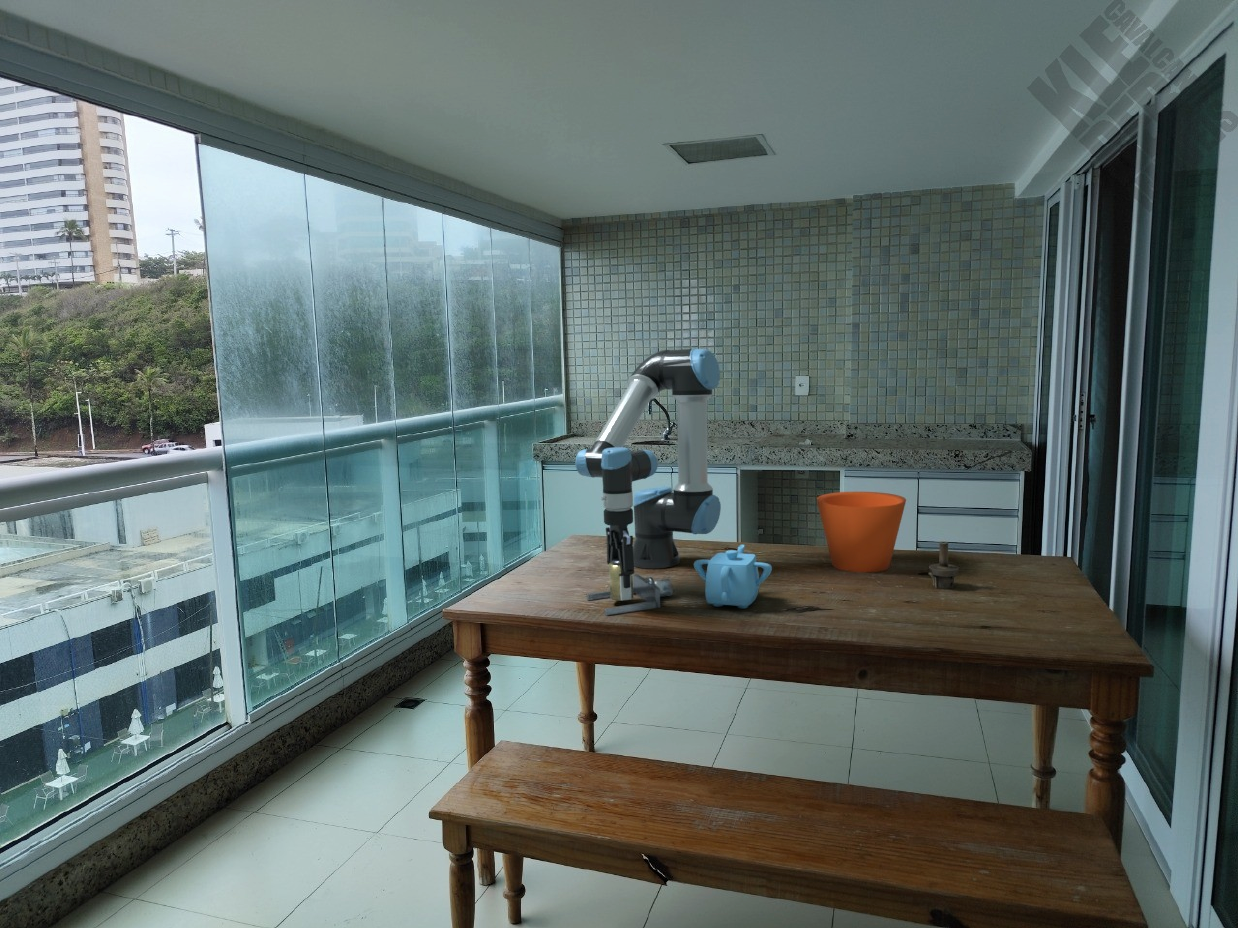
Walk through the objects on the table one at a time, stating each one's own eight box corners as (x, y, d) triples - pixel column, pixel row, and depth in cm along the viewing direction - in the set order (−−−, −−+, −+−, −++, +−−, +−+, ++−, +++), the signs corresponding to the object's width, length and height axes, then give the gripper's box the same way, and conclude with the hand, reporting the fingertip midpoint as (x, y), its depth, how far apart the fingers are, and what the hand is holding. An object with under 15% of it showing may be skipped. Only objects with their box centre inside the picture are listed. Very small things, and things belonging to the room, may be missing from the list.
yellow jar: (628, 592, 217) (627, 556, 216) (636, 598, 212) (635, 561, 210) (607, 595, 215) (605, 559, 214) (615, 601, 210) (613, 564, 208)
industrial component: (956, 583, 221) (957, 539, 219) (961, 590, 214) (962, 545, 212) (919, 582, 222) (920, 539, 221) (923, 590, 215) (924, 545, 214)
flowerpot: (914, 559, 246) (915, 494, 243) (892, 580, 225) (893, 509, 222) (832, 551, 259) (832, 489, 256) (804, 570, 238) (804, 503, 236)
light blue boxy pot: (777, 607, 206) (777, 554, 204) (718, 615, 201) (717, 562, 199) (743, 588, 223) (743, 539, 221) (688, 596, 218) (687, 546, 216)
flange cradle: (658, 588, 225) (657, 568, 225) (681, 603, 211) (681, 581, 211) (586, 599, 218) (585, 578, 218) (606, 615, 204) (605, 592, 203)
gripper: (592, 503, 218) (595, 588, 221) (617, 516, 200) (620, 608, 203) (618, 501, 220) (621, 585, 224) (645, 513, 203) (648, 603, 206)
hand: (621, 595), depth 213 cm, fingers closed on yellow jar, 6 cm apart
